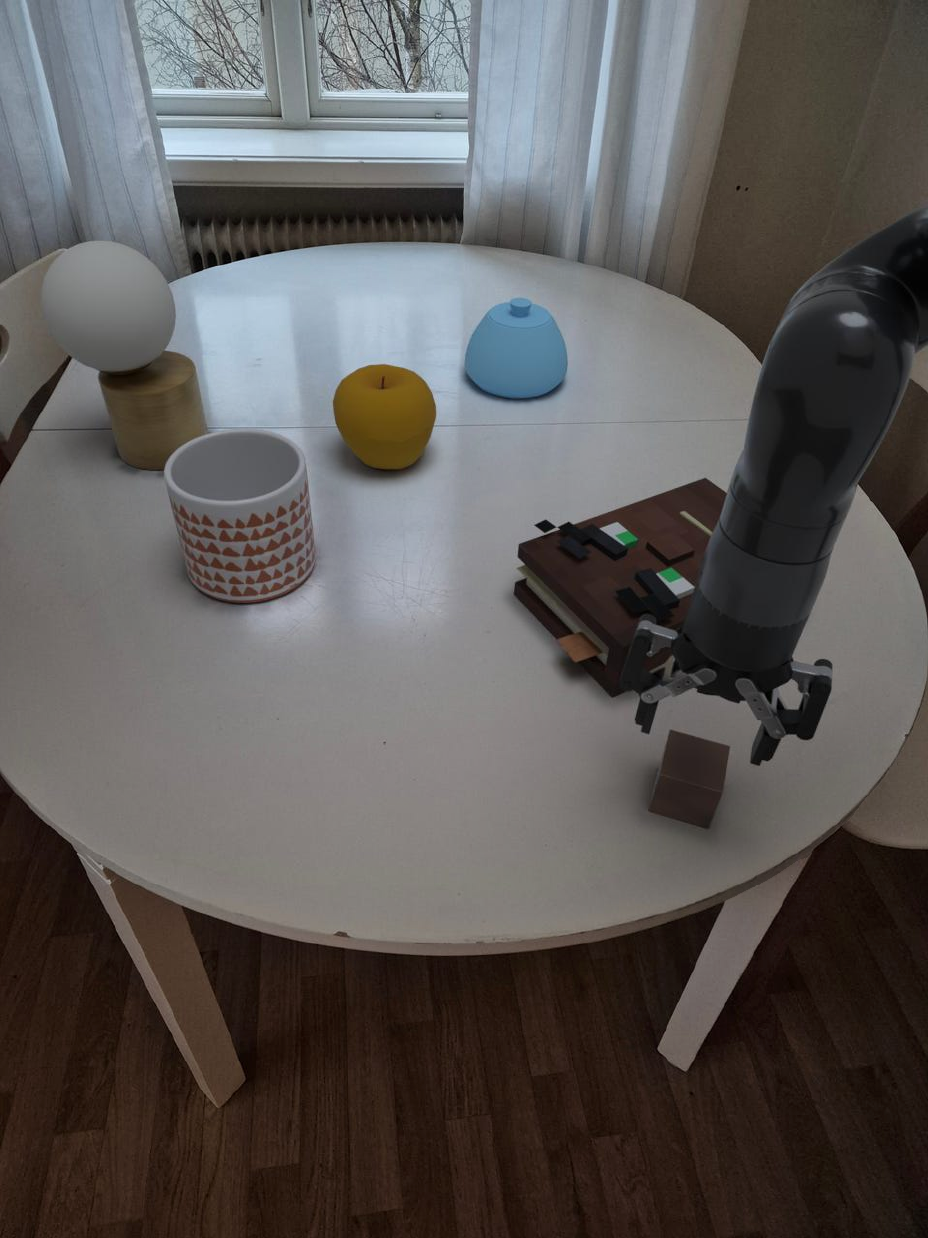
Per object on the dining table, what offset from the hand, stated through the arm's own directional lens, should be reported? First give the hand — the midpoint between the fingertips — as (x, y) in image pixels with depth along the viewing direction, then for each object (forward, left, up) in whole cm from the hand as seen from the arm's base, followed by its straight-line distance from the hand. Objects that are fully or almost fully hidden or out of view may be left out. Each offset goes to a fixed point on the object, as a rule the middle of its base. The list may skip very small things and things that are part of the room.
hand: (700, 741), depth 68 cm
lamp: (+73, -30, -8) cm, 79 cm away
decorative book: (+6, -24, -8) cm, 26 cm away
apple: (+44, -39, -8) cm, 59 cm away
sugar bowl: (+35, -66, -8) cm, 75 cm away
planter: (+49, -14, -8) cm, 51 cm away
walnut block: (0, 0, -8) cm, 8 cm away
